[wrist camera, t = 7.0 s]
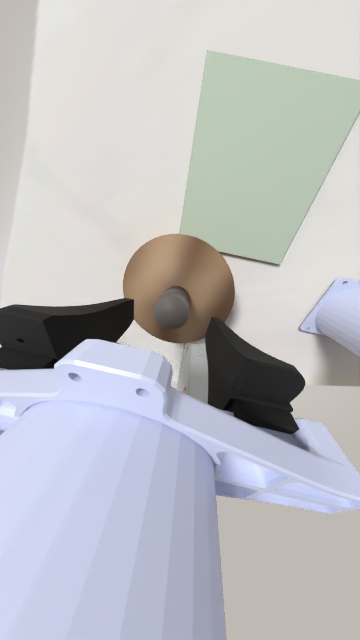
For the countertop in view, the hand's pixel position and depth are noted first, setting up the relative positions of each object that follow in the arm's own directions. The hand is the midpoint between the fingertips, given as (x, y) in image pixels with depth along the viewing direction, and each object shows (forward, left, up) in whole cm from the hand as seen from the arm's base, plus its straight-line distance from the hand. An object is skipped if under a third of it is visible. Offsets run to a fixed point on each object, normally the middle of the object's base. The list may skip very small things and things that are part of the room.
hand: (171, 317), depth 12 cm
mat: (-5, -12, -9) cm, 16 cm away
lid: (0, 0, -6) cm, 6 cm away
